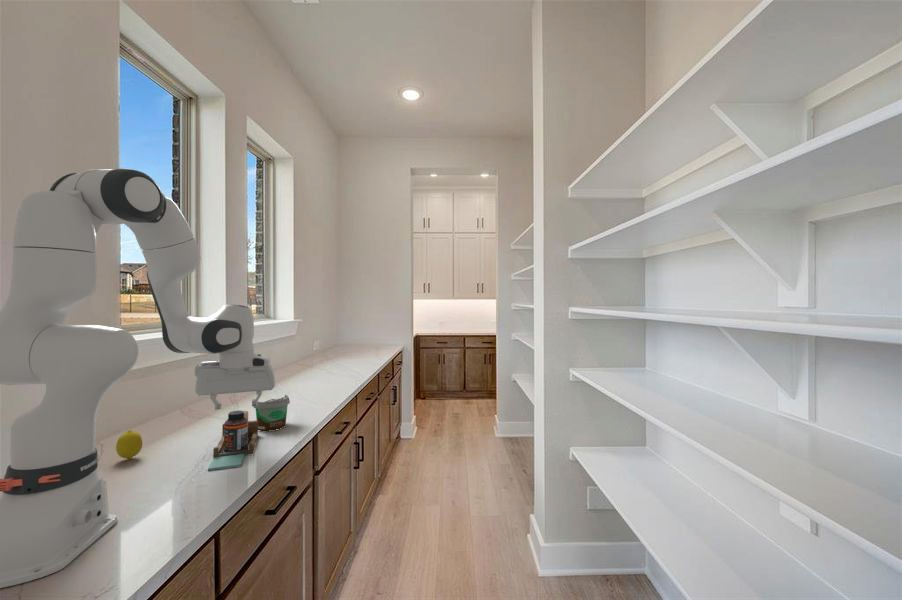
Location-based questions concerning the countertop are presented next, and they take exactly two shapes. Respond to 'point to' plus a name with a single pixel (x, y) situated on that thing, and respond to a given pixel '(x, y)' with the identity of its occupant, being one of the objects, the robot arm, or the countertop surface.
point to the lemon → (129, 444)
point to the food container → (272, 413)
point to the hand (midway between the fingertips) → (236, 407)
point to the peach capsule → (247, 421)
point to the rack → (251, 433)
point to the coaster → (226, 462)
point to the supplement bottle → (235, 432)
